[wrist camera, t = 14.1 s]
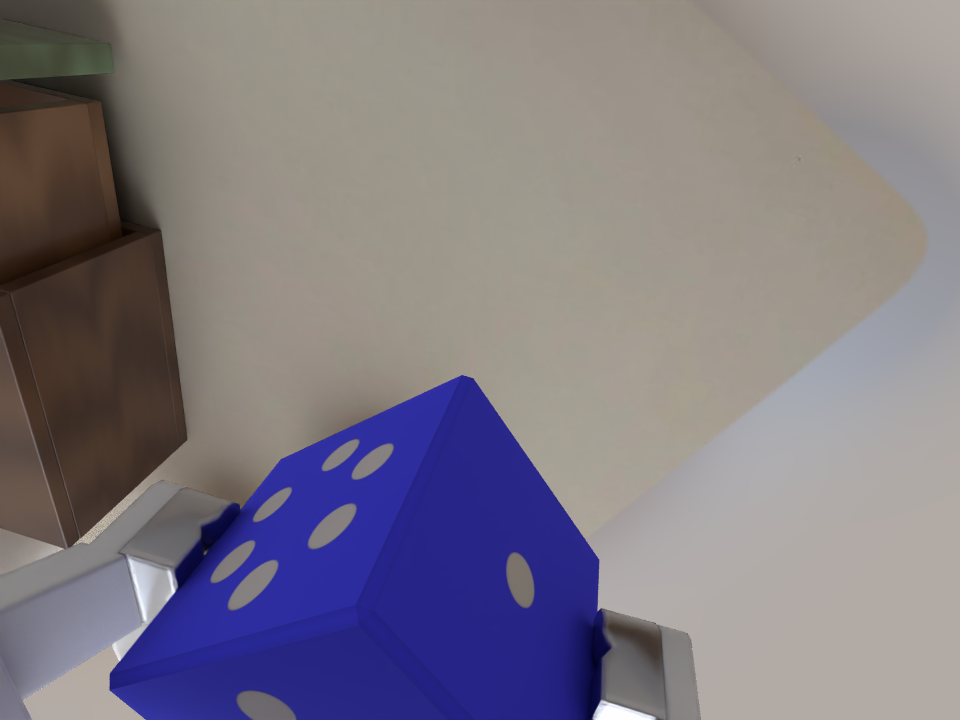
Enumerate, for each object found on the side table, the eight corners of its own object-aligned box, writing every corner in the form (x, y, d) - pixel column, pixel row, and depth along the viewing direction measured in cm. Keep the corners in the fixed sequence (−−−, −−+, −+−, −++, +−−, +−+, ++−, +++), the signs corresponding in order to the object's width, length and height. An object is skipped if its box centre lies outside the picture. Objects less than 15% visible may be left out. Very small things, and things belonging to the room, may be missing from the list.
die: (602, 559, 12) (593, 862, 7) (413, 608, 14) (321, 867, 9) (470, 367, 10) (361, 613, 6) (279, 457, 12) (95, 685, 8)
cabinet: (-46, 177, 31) (-279, 226, 23) (161, 230, 30) (-9, 300, 22) (19, 391, 39) (-140, 484, 31) (187, 440, 38) (67, 550, 30)
